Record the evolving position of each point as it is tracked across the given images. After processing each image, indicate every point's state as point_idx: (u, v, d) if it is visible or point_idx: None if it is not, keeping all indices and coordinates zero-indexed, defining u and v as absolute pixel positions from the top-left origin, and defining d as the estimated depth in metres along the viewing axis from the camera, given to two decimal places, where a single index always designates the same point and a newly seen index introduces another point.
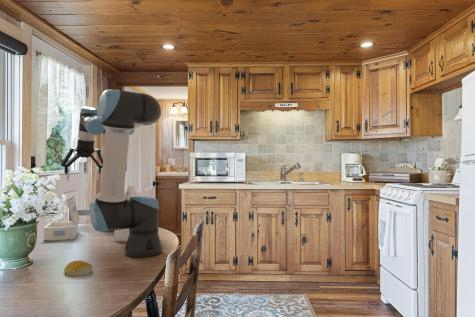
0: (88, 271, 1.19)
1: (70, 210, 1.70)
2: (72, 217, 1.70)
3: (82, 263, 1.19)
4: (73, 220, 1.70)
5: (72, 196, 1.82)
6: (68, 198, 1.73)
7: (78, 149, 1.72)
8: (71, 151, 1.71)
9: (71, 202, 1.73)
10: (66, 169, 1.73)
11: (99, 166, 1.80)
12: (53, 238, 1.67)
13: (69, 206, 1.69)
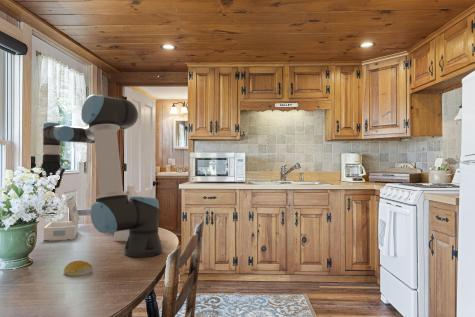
0: (88, 271, 1.19)
1: (70, 210, 1.70)
2: (72, 217, 1.70)
3: (82, 263, 1.19)
4: (73, 220, 1.70)
5: (72, 196, 1.82)
6: (68, 198, 1.73)
7: (42, 165, 1.72)
8: None
9: (71, 202, 1.73)
10: None
11: None
12: (53, 238, 1.67)
13: (69, 206, 1.69)
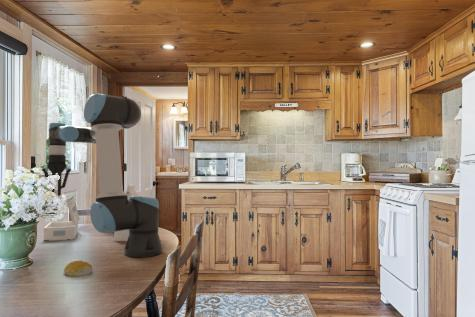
0: (88, 271, 1.18)
1: (70, 210, 1.70)
2: (72, 217, 1.70)
3: (82, 263, 1.18)
4: (73, 220, 1.70)
5: (72, 196, 1.82)
6: (68, 198, 1.73)
7: (48, 165, 1.73)
8: (44, 171, 1.72)
9: (71, 202, 1.73)
10: (53, 191, 1.74)
11: (58, 186, 1.74)
12: (53, 238, 1.67)
13: (69, 206, 1.69)
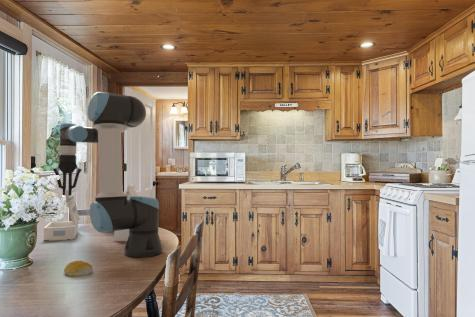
0: (88, 271, 1.18)
1: (70, 210, 1.70)
2: (72, 217, 1.70)
3: (82, 263, 1.18)
4: (73, 220, 1.70)
5: (72, 196, 1.82)
6: (68, 198, 1.73)
7: (59, 165, 1.74)
8: (55, 171, 1.74)
9: (71, 202, 1.73)
10: (64, 191, 1.75)
11: (69, 186, 1.76)
12: (53, 238, 1.67)
13: (69, 206, 1.69)
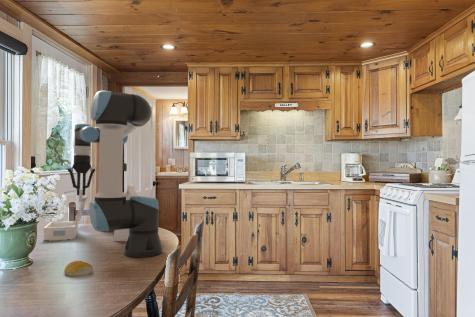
0: (88, 271, 1.18)
1: (79, 210, 1.71)
2: (77, 217, 1.70)
3: (82, 263, 1.18)
4: (76, 220, 1.70)
5: (87, 197, 1.84)
6: (84, 198, 1.75)
7: (73, 165, 1.76)
8: (69, 171, 1.76)
9: (84, 203, 1.75)
10: (78, 190, 1.77)
11: (83, 186, 1.78)
12: (53, 238, 1.67)
13: (81, 206, 1.71)
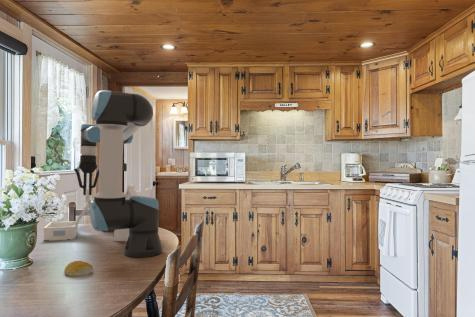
0: (88, 271, 1.18)
1: (83, 211, 1.71)
2: (79, 218, 1.71)
3: (82, 263, 1.18)
4: (77, 221, 1.70)
5: (93, 199, 1.85)
6: (90, 200, 1.76)
7: (80, 165, 1.77)
8: (76, 171, 1.77)
9: None
10: (84, 190, 1.78)
11: (89, 186, 1.79)
12: (53, 238, 1.67)
13: (86, 208, 1.72)
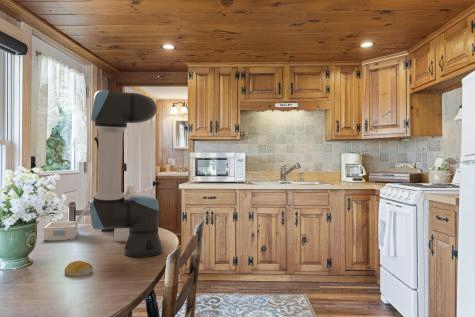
0: (89, 271, 1.18)
1: (83, 211, 1.71)
2: (79, 218, 1.71)
3: (83, 263, 1.18)
4: (77, 221, 1.70)
5: None
6: None
7: None
8: (96, 140, 1.78)
9: None
10: None
11: None
12: (53, 238, 1.67)
13: (86, 208, 1.72)
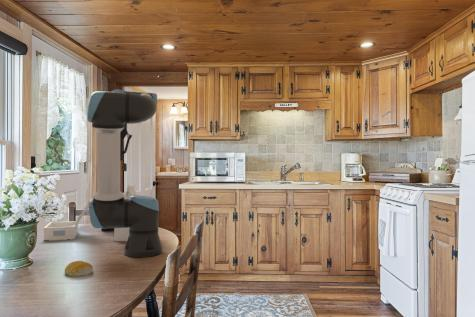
0: (89, 271, 1.18)
1: (83, 211, 1.71)
2: (79, 218, 1.71)
3: (83, 263, 1.18)
4: (77, 221, 1.70)
5: None
6: None
7: None
8: None
9: None
10: None
11: (121, 152, 1.81)
12: (53, 238, 1.67)
13: (86, 208, 1.72)
